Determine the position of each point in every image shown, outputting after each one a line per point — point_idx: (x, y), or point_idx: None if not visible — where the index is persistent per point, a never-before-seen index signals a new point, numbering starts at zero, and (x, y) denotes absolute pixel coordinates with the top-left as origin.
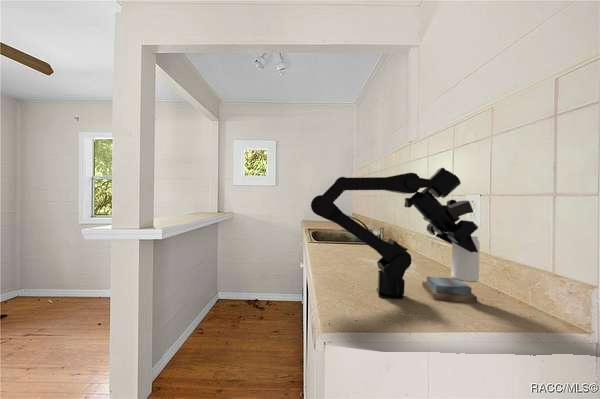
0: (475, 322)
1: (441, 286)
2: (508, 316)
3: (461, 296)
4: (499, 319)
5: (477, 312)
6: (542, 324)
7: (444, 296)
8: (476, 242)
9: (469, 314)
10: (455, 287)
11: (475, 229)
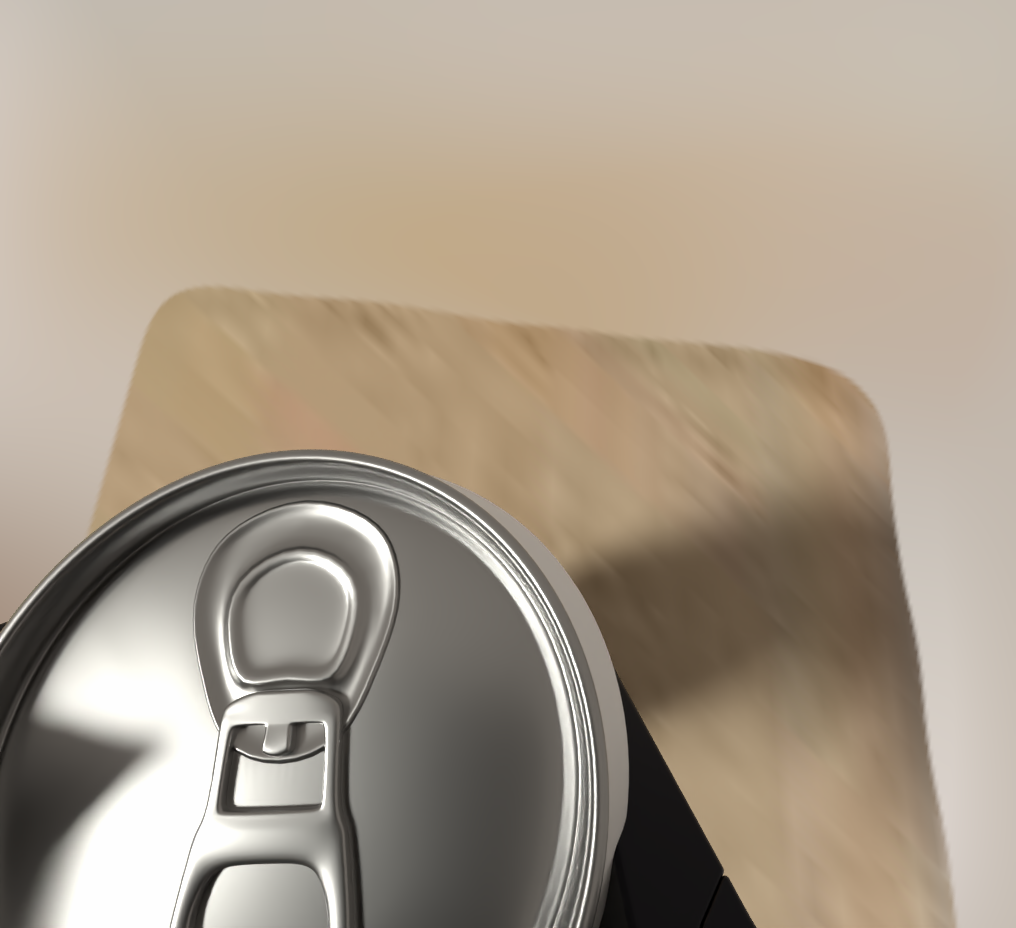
0: (833, 908)
1: None
2: (729, 596)
3: None
4: (775, 693)
5: (679, 756)
6: (817, 498)
7: None
8: (615, 678)
9: (712, 846)
10: None
11: None
